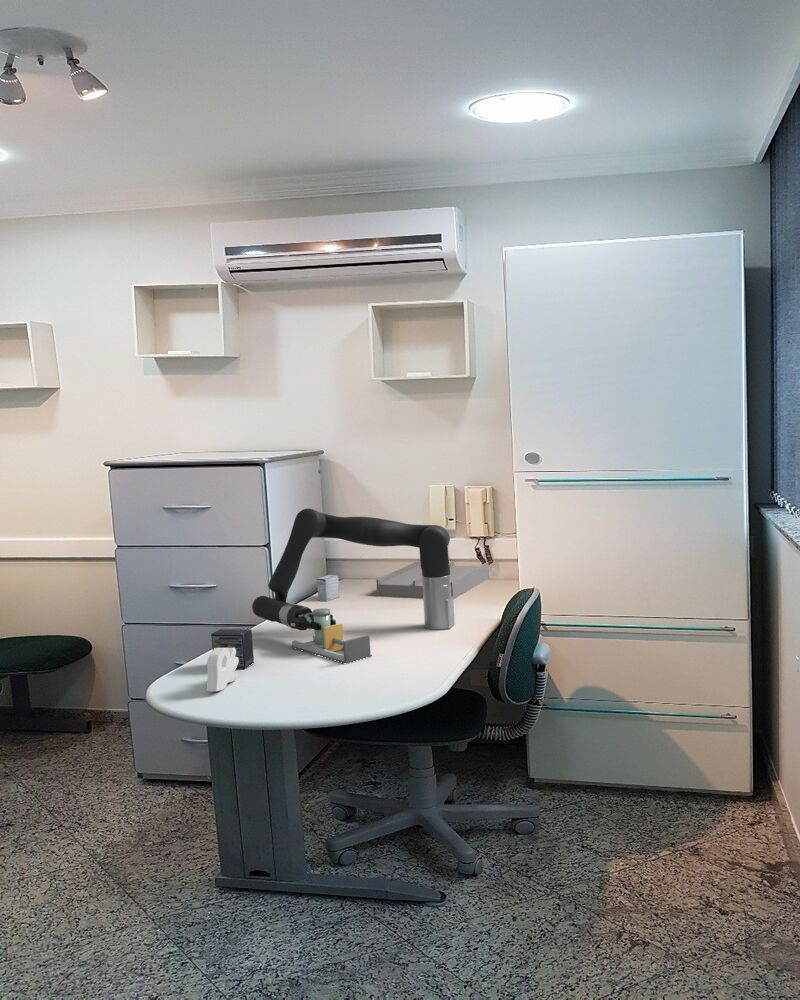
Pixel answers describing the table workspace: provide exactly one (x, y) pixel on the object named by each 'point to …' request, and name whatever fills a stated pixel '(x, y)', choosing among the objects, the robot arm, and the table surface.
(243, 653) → the small box
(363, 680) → the table surface
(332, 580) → the medicine box
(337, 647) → the pusher plate
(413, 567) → the desk organizer
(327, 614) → the green jar
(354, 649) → the pusher lane
